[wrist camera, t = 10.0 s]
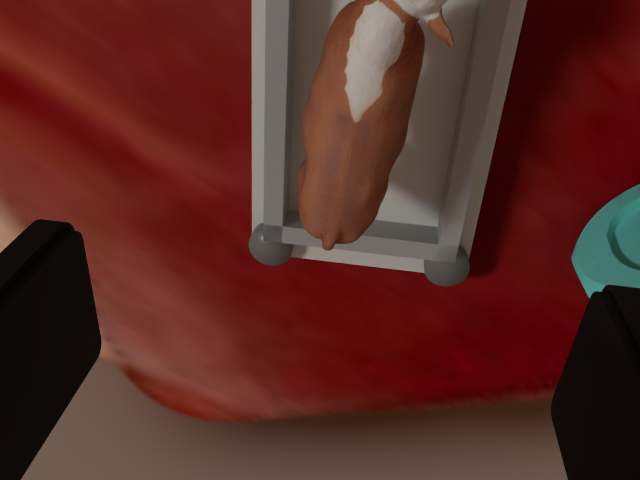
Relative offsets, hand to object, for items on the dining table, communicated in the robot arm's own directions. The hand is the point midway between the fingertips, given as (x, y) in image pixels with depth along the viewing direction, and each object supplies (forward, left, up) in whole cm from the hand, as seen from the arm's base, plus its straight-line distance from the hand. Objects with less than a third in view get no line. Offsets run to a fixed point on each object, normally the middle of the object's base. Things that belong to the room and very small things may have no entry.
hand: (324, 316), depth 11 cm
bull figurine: (0, 0, -20) cm, 20 cm away
